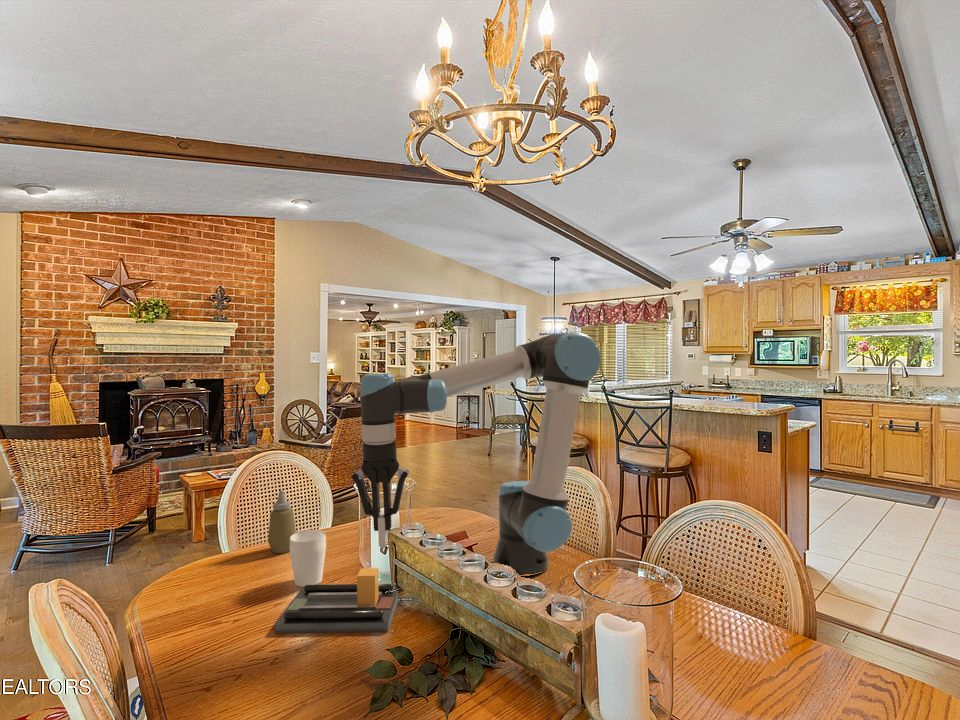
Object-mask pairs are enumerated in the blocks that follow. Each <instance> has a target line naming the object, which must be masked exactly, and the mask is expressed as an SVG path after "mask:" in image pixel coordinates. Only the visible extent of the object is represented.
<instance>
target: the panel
mask: <svg viewBox="0 0 960 720" xmlns="http://www.w3.org/2000/svg"><path fill="white" fill-rule="evenodd" d="M394 587H395V586H394V584H393V583H379V599H378V601H377V604H376V605H357V583H349V584H348V583H345V584H344V583H337V584H333V583H331V584H316V585H305V586H304V587H300V589H299V591H298V593H296V595H295V596H294V598H293V599H292V601H291V602H290V603H289V604H288V606H287V607H285V608H286V609H285V610H283V612H282V614H281V615H280V616H279V618H278V619H277V621H276V622H275V623H274V634H318V633H319V634H321V633H323V634H324V633H325V634H326V633H327V634H329V633H331V634H332V633H338V634H339V633H387V632H390V631H389V630H390V627H391V624H392V621H393V618H394V615H395V612H396V609H397V605H398V602H399V600H398V592H399V591H393V592H389V593H385V592H386V591H389V590H393V588H394Z"/></svg>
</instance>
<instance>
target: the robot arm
mask: <svg viewBox="0 0 960 720" xmlns="http://www.w3.org/2000/svg"><path fill="white" fill-rule="evenodd" d="M601 356H602V355H601V351H600V348H599V346H598V345H597V342H596V341H595V340H594V339H593V338H592V337H590V336H589V335H587V334H585V333H582V332H572V331H568V332H565V333H553V334H548V335H546V336H543V337H540V338H538V339H534V340H532V341H529V342H527V343H523V344H520V345H517V346H516V347H515V348H514V350H511V351H508V352H503V353H499V354H496V355H493V356H488V357H485V358H481V359H478V360H474V361H470V362H466V363H462V364H459V365H455V366H450V367H446V368H444V369H440V370H436V371H435V370H434V371H432V372H428V373H425V374H421V375H416V376H408V377H405V378H403V379H402V380H401V381H397V380H396V381H395V379H394V374H393V373H369V374H364V375H362V377H360V387H359V389H360V391H359V392H360V393H359V396H360V414H361V415H360V416H361V441H363V442H364V443H363V444H362V465H361V467H360V469H359V470H357V471H355V472H354V473H352V475H351V478H352V480H353V481H354V483H355V484H356V487H357V490H358V494H359V498H360V501H361V505H362V508H363V512H364V515H366V516H370V517H372V518H373V530H374V532H378V533H377V534H378V548H379V547H380V548H383V547H386V546H387V544H388V542H389V540H388V537H389V536H388V531H391V529H392V525H393V524H392V516H393V515H396V514H398V512H399V510H400V506H401V501H402V495H403V490H404V486H405V480H406V479H407V477H408V475H409V474H410V471H409V470H408V469H404V468H402V467H401V466H400V464H399V462H398V458H397V455H398V454H397V442H396V441H395V439H397V436H396V435H397V434H396V433H397V432H396V415H402V414H417V413H418V414H419V413H420V414H421V413H430V414H432V413H435V412H442V411H444V410H445V409H446V407H447V402H448V398H451V397H455V396H457V395H462V394H465V393H469V392H473V391H477V390H480V389H483V388H486V387H487V388H488V387H490V386H495V385H499V384H501V383H505V382H509V381H513V380H516V379H520V378H523V379H524V380H530V379H533V378H541V377H542V378H541V379H542V380H541V382H542V384H543V386H544V387H545V388H546V391H545V396H544V402H543V407H542V413H541V418H540V425H539V430H538V435H537V441H536V446H535V453H534V458H533V465H532V469H531V474H530V475H531V476H530V480H516V481H515V480H514V481H509V482H508V481H507V482H504V483H501V484H500V486H499V489H498V518H499V519H498V520H499V525H498V526H499V527H498V529H499V533H498V534H499V535H498V536H499V537H498V541H497V544H496V547H495V550H494V554H493V559H492V561H493V562H494V563H499V564H504V565H508V566H511V567H512V568H513V569H515V570H516V572H517V573H518V574H519V575H524V574H535V573H539V572H542V571H544V570H546V569H547V570H548V568H549V558H548V557H549V556H548V554H547V553H549V552H554V551H556V550H558V549H559V548H560V547H562V546H563V545H565V544H566V542H567V541H568V540H569V538H570V537H571V533H572V529H573V523H572V522H573V521H572V519H571V517H570V514H569V512H568V511H567V509H568V503H569V495H568V494H567V493H566V490H565V483H566V478H567V473H568V469H569V461H570V455H571V450H572V443H573V437H574V433H575V428H576V427H575V426H576V420H577V415H578V410H579V404H580V399H581V395H583V394H584V393H585V392H586V391H588V389H589V383H590V379H592V377H594V375H596V374H597V373H598V371H599V369H600V367H601V361H602V357H601ZM396 473H397V478H398V481H397V484H396V490H395V494H394V498H393V504H392V495H391V493H392V492H391V483H392V482H391V480H392V479H393V477H395V475H396ZM365 477H366V478H367V479H368V481H369V482H370V488H371V499H370V496H369V492H368V489H367V485H366V482H365V479H364V478H365ZM381 483H382V494H383V495H382V496H383V497H382V498H383V513H381V511H382V510H381V500H380V499H381V498H380V496H381V495H380V484H381ZM493 562H492V563H493ZM547 567H548V568H547ZM547 570H546V571H547Z"/></svg>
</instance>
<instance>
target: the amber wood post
mask: <svg viewBox="0 0 960 720" xmlns="http://www.w3.org/2000/svg"><path fill="white" fill-rule="evenodd" d="M356 584H357V605H376V604H377V601H378V599H379V584H380V583H379V567H368V568H365V567H364V568H362V567H361V568H360V570H359V571H358V573H357V575H356Z"/></svg>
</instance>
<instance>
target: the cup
mask: <svg viewBox="0 0 960 720" xmlns="http://www.w3.org/2000/svg"><path fill="white" fill-rule="evenodd" d="M326 537H327V535H326V532H325V531H324V530H320V529H305V530H301V531H298V532H297V531H296V533H295V534H293V535H292V536H291V537H290V551H289V554H290V560H291V568H292V573H293V579H294V584H295V586H298V587H300V588H304V586H305V585H319V583H321V582H322V580H323V573H324V566H325V558H326V552H327V551H326V550H327V538H326Z"/></svg>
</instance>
